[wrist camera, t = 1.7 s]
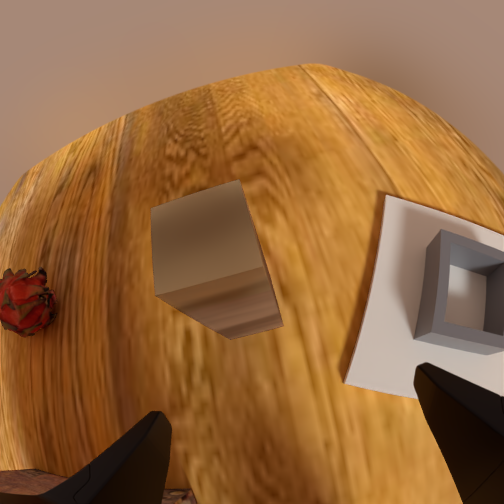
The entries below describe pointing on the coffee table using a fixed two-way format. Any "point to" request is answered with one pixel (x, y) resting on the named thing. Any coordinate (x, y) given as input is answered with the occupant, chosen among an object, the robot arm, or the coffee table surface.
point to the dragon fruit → (25, 302)
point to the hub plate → (431, 302)
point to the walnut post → (213, 262)
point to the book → (39, 482)
